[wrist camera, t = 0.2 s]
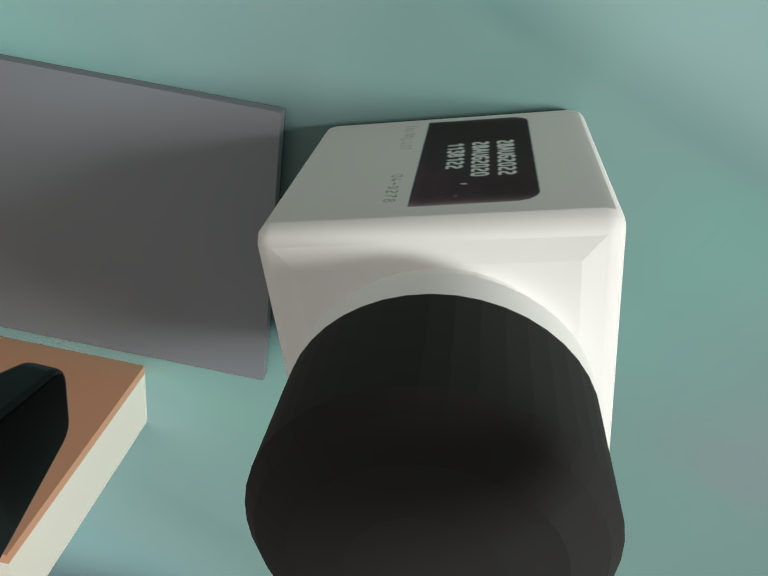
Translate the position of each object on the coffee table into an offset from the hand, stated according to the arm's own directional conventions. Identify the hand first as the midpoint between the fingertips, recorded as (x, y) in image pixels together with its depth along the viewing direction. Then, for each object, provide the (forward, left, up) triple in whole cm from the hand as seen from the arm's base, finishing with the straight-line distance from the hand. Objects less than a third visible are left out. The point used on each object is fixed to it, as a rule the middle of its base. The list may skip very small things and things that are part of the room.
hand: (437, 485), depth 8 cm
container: (-4, 0, -15) cm, 15 cm away
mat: (-6, +15, -15) cm, 21 cm away
